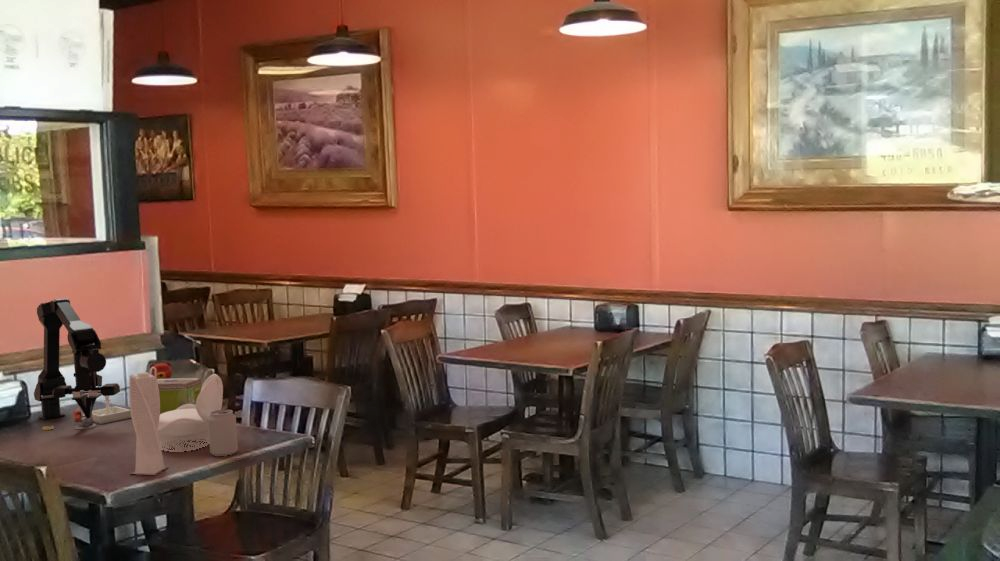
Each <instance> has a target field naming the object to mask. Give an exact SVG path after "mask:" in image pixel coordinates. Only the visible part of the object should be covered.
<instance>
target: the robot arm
mask: <svg viewBox="0 0 1000 561" xmlns="http://www.w3.org/2000/svg"><path fill="white" fill-rule="evenodd" d="M36 315H37V318H38V321H39V322H40V324H41V325H42V327H43V369H42V370H41V372H40V373H39V374H38V376H37V383H36V385H35V388H34V392H33V398H34V400H35V401H38V402H40V404H41V414H38V415H37V417H38V418H41V419H44V420H49V419H50V420H51V419H55V418H60V417H65V416H66V414H65V413H62V412H61V398H66V395H72V398H71V400H72V401H75V402H76V404H77V405H78V406H79V408H81V412H82V413H84V415H85V416H86V418H90V417H91V414H92V411H94V410H93V409H94V406H95V404H96V401H97V399H98V398H100V397H102V396H103V397H105V396H109V397H111V396H116V395H117V394H118V393H120V392H121V388H120V385H119V384H118V383H117V382H116V383H105V384H104V385H103V376H102V375H100V374H98V373H99V372H101V371H102V370H104V369H105V368H106V365H107V359H106V357H105V356H104V355H103V354H102V353H100V351H99V350H102V346H101V345H102V342H101V340H100V338H99V335H98V334H97V332H96V330H95V328H93V327H92V326H91V325H90V324H89V323H87V322H84V321H83V320H81V319H80V316H79V315H78V314H77V313H76V311H75V310H74V308H73V307H72V305H71V300H70V299H69V298H65V297H64V298H56V299H52V300H51V301H48V302H42V303H40V304H39V305H38V306H37V307H36ZM62 326H64V327H65V330H66V331H67V343H68V344H69V346H70V348H71V349H72V351H71V353H73V354H72V355H73V362H74V363H73V364H74V366H73V367H74V373H73V377H75V386H74V387H73V386H72V385H69V384H68V385H67V382H66V377H65V376H64V375H63V374H62V372H61V370H60V342H61V341H60V337H61V336H60V335H61V334H60V333H61V332H60V331H61V328H62Z"/></svg>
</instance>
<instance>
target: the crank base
mask: <svg viewBox="0 0 1000 561" xmlns="http://www.w3.org/2000/svg"><path fill="white" fill-rule="evenodd" d="M97 426H98V423H95V422H93V425H90V426H74V429H75V430H89V429H93V428H94V429H95V428H96V427H97Z"/></svg>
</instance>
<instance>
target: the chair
mask: <svg viewBox="0 0 1000 561" xmlns="http://www.w3.org/2000/svg"><path fill="white" fill-rule="evenodd" d="M223 394H224V384H223V381H222V378H221V376H219V375H218V374H216V373H212V374H211V375H209V376H208V377H207V378H206V379H205V380H204V381H203V383H202V387H201V392H200V394H199V396H198V398H197V401H196V405H194V404H185V405H182V406H180V407H179V408H177V409H176V410H172V411H168V412H165V413H162V414H160V417H159V425H158V431H157V433H158V437H159V441H160V446H161V451H163V450H164V452H167V451H169V453H185V452H184V451H185V450H186V451H187V452H192V451H191V450H193V451H197V450H196V449H198V450H200V449H199V448H201V449H203V448H202V447H204V448H206V447H208V446H209V445H210V444H209V441H208V440H209V429H208V418H209V417H210V413H211V412H213V411H217V410H222V406H223V398H224V396H223ZM201 398H202V399H201ZM200 402H201V403H200ZM187 407H188V409H187ZM190 407H191V409H189V408H190ZM185 438H189V439H190V438H192V441H193V438H198V439H199V438H200V439H201V438H202V439H204V440H200V439H199V440H198V439H197V440H196V439H195V440H196V442H198V443H197V444H196V443H194V442H193V443H192V445H193V444H195V448H196V449H195V448H194V446H193V447H192V446H191V447H190V446H189V445H190V444H191V442H192V441H190V444H189V445H188V446H187V444H188V443H189V442H187V441H188V440H189V439H188V440H187V441H186V439H185ZM178 439H180V440H181V439H182V441H183V440H184V439H185V443H186V445H185V447H186V446H187V447H188V449H189V450H188V449H186V448H185V450H183V449H182V447H183V448H184V444H185V443H184V444H182V443H183V442H184V441H183V442H182V441H180V442H182V443H181V444H180V445H183V446H182V447H181V448H180V445H179V443H180V442H179V440H178ZM205 439H206V440H205ZM174 440H175V441H176V440H177V442H178V444H177V445H179V447H178V446H177V445H175V444H176V443H177V442H175V444H173V447H174V446H176V447H175V450H174V449H173V448H172V449H173V450H168V449H169V448H170V449H171V446H170V447H169V444H170V442H171V441H173V442H174ZM195 440H194V441H195ZM199 441H201V442H202V441H203V442H202V443H201V442H199ZM167 442H169V444H168V445H167ZM204 442H205V443H204ZM206 442H207V443H208V444H209V445H208V444H207V443H206ZM165 443H166V444H165ZM200 443H201V446H199V444H200ZM203 443H204V444H203ZM205 444H206V445H205ZM171 445H172V443H171ZM207 445H208V446H207ZM162 446H163V448H162ZM197 446H199V447H197ZM205 446H206V447H205ZM164 447H165V448H164ZM177 447H178V449H177ZM167 448H168V449H167ZM190 448H192V449H190ZM178 450H179V451H178ZM181 450H182V451H181Z"/></svg>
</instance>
